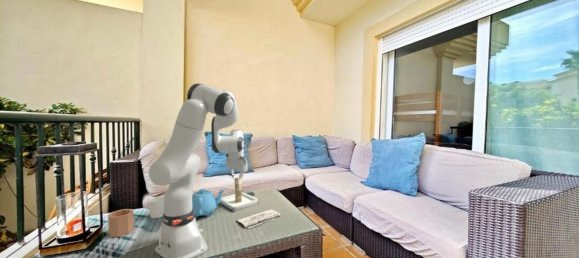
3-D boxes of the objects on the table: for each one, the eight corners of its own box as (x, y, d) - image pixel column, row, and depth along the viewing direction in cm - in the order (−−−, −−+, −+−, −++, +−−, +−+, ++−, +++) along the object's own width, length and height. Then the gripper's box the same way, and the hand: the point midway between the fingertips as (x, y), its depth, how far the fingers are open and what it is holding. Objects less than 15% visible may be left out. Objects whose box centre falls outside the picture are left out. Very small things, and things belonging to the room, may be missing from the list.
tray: (259, 203, 143) (259, 199, 143) (234, 211, 131) (234, 207, 131) (242, 195, 158) (242, 192, 158) (218, 202, 145) (218, 198, 145)
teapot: (179, 215, 126) (178, 191, 125) (210, 204, 141) (209, 182, 140) (195, 224, 116) (194, 197, 115) (226, 211, 132) (226, 187, 131)
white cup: (168, 214, 127) (168, 197, 127) (159, 220, 119) (158, 202, 119) (155, 213, 128) (155, 196, 127) (145, 220, 120) (145, 201, 120)
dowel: (242, 201, 144) (242, 178, 143) (237, 203, 141) (237, 179, 140) (239, 199, 147) (239, 177, 146) (234, 201, 144) (233, 178, 143)
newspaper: (247, 231, 110) (247, 226, 110) (236, 224, 119) (235, 219, 119) (283, 217, 124) (283, 213, 124) (271, 212, 134) (271, 208, 134)
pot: (135, 233, 106) (134, 213, 106) (110, 241, 100) (109, 219, 99) (131, 226, 113) (130, 207, 112) (108, 233, 106) (107, 212, 106)
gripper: (250, 156, 138) (250, 179, 139) (232, 152, 152) (232, 173, 153) (241, 158, 133) (241, 181, 134) (224, 153, 148) (224, 174, 148)
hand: (236, 176), depth 144 cm, fingers open, 8 cm apart
